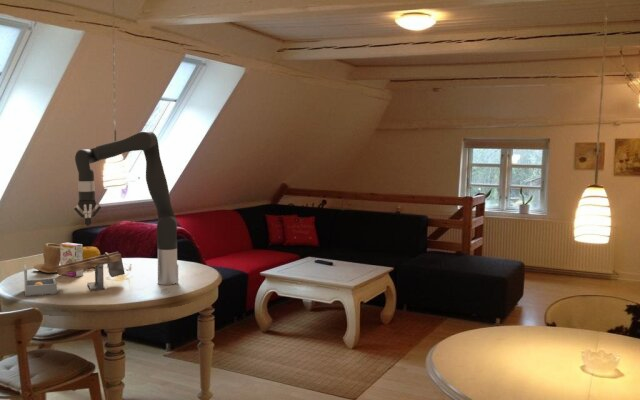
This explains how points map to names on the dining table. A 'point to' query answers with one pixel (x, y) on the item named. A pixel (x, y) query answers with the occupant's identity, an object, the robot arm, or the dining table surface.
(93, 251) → the yellow pumpkin
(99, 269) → the lever stand
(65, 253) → the candy bar box
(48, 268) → the brown top hat
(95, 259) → the lever
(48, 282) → the grey tray
